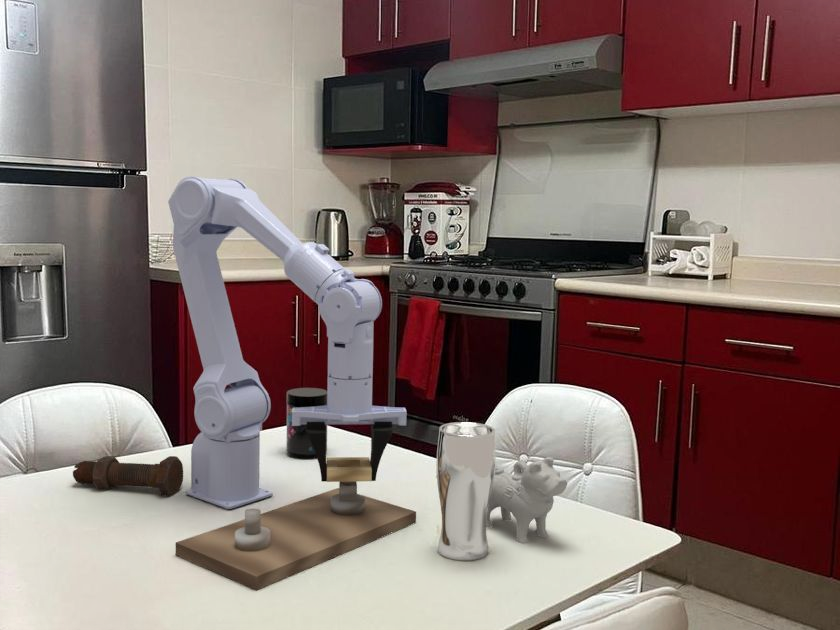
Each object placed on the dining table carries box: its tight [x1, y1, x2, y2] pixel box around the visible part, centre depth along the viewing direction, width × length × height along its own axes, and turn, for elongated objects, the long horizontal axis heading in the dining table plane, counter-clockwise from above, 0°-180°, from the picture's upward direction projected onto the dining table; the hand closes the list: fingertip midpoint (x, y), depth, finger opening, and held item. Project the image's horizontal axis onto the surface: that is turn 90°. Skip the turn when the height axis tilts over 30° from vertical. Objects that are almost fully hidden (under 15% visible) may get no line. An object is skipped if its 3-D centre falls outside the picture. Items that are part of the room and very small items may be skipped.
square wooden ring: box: [326, 456, 373, 483], centre depth 112 cm, size 6×6×2 cm
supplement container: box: [286, 387, 328, 460], centre depth 142 cm, size 7×7×10 cm
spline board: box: [175, 482, 417, 591], centre depth 106 cm, size 27×14×6 cm, turn 142°
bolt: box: [72, 455, 184, 497], centre depth 123 cm, size 6×5×15 cm
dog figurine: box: [486, 456, 568, 545], centre depth 109 cm, size 5×13×11 cm, turn 40°
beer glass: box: [435, 421, 496, 562], centre depth 103 cm, size 7×7×15 cm
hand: (348, 479), depth 112 cm, fingers closed on square wooden ring, 6 cm apart
